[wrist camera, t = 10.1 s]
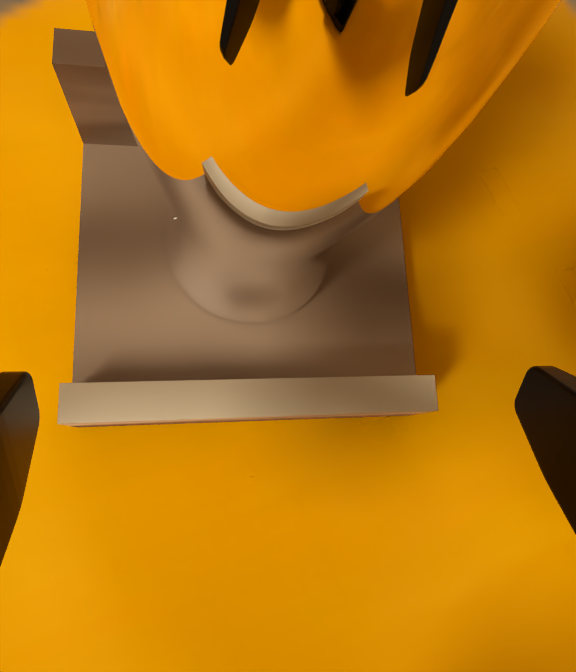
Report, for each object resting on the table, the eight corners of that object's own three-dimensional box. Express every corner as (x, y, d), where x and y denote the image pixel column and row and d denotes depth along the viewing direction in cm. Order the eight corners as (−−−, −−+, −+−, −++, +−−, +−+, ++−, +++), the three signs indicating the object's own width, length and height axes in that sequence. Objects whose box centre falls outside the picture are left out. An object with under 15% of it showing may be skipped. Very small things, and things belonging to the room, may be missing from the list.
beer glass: (282, 133, 20) (490, -701, 5) (374, 282, 19) (898, -228, 5) (117, 204, 18) (-213, -738, 4) (212, 371, 17) (252, -1, 3)
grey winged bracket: (409, 415, 19) (477, 403, 14) (77, 427, 17) (29, 419, 12) (384, 147, 22) (435, 61, 17) (90, 130, 20) (54, 28, 15)
